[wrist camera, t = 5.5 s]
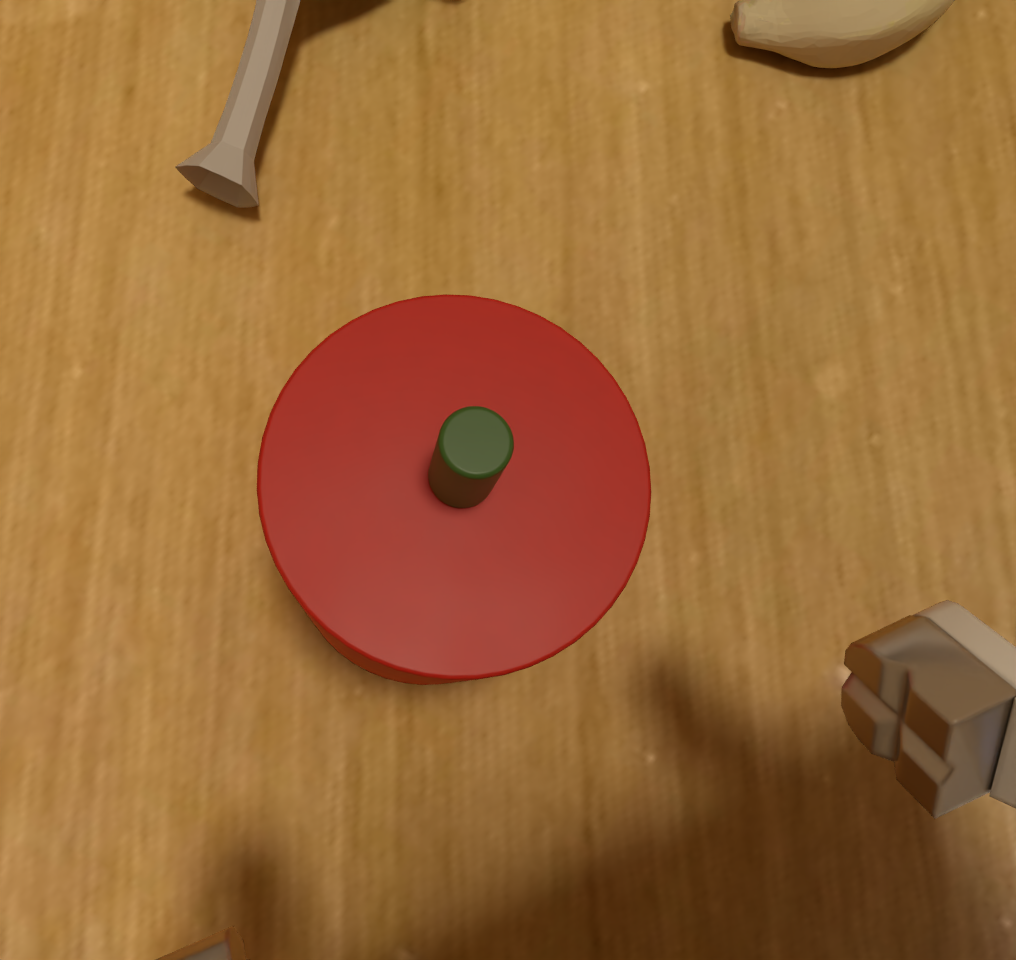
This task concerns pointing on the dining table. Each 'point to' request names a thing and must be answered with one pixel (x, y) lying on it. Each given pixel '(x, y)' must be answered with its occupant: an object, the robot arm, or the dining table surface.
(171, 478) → the dining table surface
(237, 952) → the robot arm
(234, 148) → the mushroom
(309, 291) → the dining table surface
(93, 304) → the dining table surface
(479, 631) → the pepper
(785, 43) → the fruit
